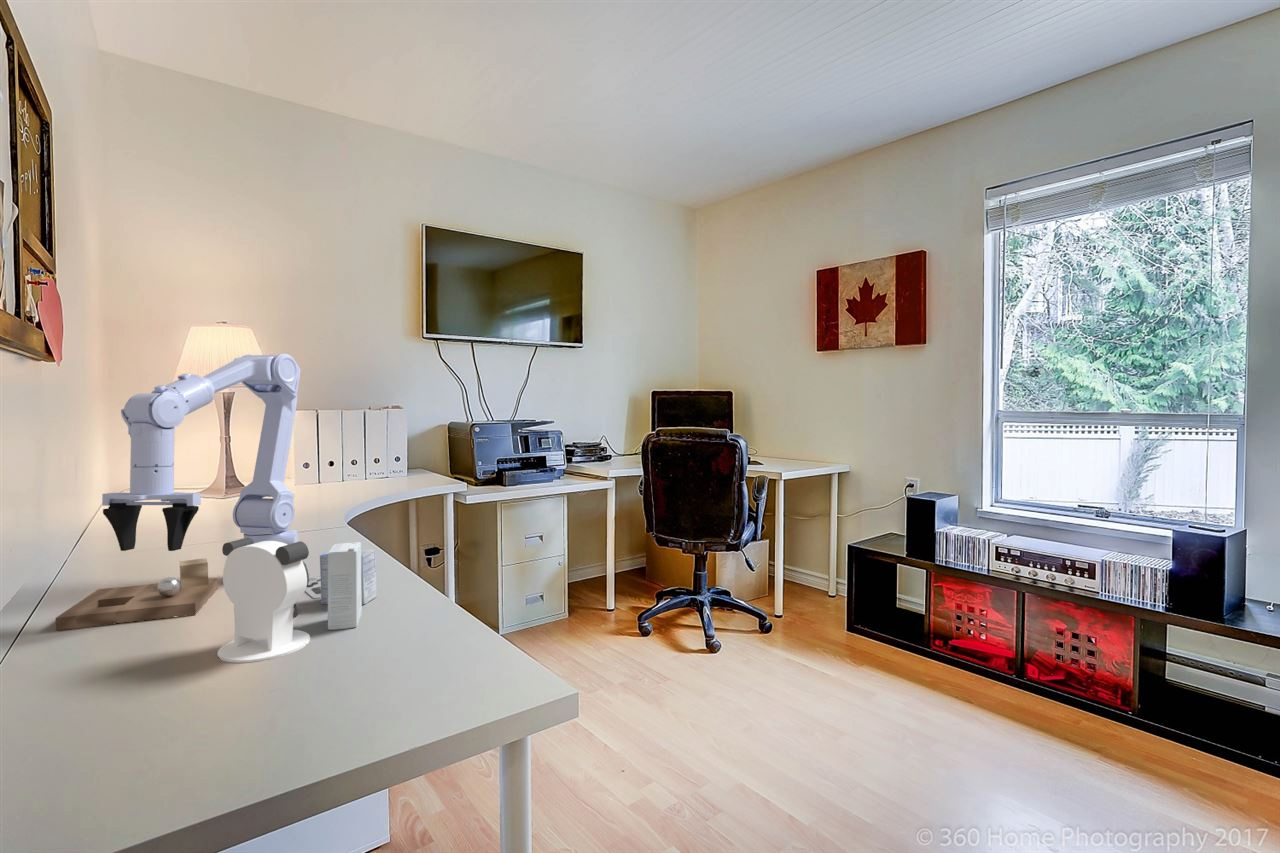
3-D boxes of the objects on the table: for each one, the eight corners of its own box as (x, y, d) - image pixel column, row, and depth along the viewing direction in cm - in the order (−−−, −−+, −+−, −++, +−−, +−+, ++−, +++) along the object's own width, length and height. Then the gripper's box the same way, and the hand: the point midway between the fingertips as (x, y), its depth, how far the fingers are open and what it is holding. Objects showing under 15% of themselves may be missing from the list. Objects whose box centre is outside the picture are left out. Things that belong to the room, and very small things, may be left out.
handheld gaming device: (341, 571, 130) (365, 587, 119) (342, 574, 130) (366, 591, 119) (293, 579, 125) (313, 597, 113) (293, 583, 125) (314, 601, 113)
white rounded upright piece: (331, 636, 96) (328, 535, 95) (268, 667, 85) (264, 553, 84) (265, 628, 99) (262, 531, 98) (197, 657, 88) (192, 548, 87)
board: (218, 588, 120) (217, 577, 120) (195, 614, 105) (195, 602, 105) (98, 600, 113) (97, 589, 113) (56, 630, 99) (55, 617, 99)
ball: (183, 592, 111) (182, 574, 111) (178, 597, 108) (177, 578, 108) (161, 594, 110) (160, 576, 110) (154, 600, 107) (154, 581, 107)
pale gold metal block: (207, 579, 119) (206, 558, 119) (208, 584, 116) (207, 562, 116) (180, 583, 117) (179, 561, 116) (181, 588, 113) (180, 566, 113)
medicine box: (377, 597, 114) (376, 549, 114) (364, 605, 110) (362, 555, 109) (335, 596, 115) (333, 548, 114) (320, 604, 110) (318, 554, 110)
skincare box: (333, 618, 103) (331, 543, 103) (363, 615, 105) (361, 541, 104) (326, 631, 97) (324, 552, 97) (359, 628, 99) (356, 549, 98)
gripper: (86, 467, 101) (85, 554, 101) (180, 467, 101) (179, 554, 101) (122, 465, 108) (120, 546, 108) (209, 465, 109) (208, 546, 108)
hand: (151, 549), depth 105 cm, fingers open, 7 cm apart
